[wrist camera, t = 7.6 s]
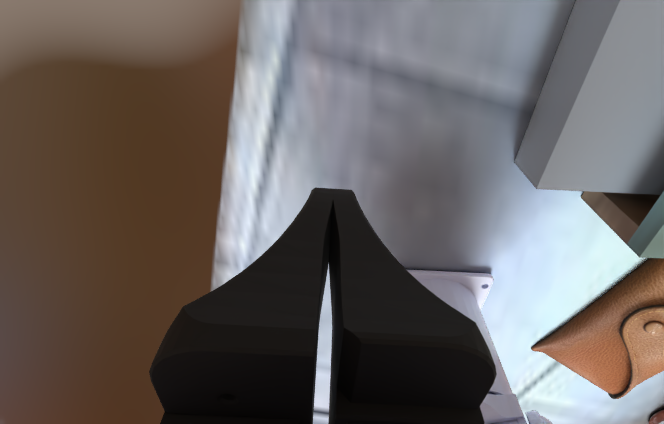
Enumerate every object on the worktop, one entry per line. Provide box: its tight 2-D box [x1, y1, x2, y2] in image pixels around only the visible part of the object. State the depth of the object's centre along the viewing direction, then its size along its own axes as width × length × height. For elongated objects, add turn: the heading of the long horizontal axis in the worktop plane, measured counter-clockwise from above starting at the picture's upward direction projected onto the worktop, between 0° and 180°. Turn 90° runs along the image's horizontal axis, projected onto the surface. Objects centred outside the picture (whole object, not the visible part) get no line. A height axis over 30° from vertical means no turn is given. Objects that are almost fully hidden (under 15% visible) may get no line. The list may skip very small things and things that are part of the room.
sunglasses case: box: [531, 258, 664, 399], centre depth 27 cm, size 18×7×7 cm
